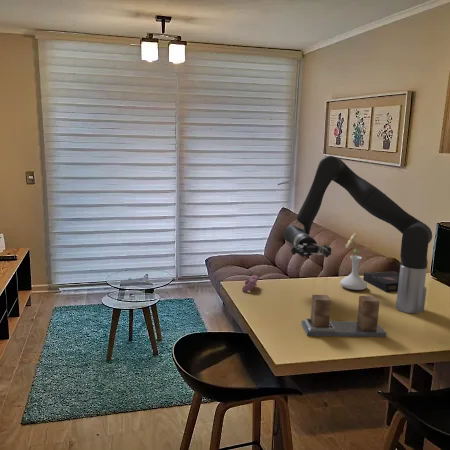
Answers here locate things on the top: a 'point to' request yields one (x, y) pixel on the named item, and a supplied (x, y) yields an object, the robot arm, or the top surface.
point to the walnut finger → (320, 311)
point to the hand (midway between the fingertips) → (315, 254)
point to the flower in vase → (354, 270)
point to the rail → (341, 329)
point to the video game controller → (250, 283)
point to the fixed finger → (368, 312)
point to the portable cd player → (383, 280)
